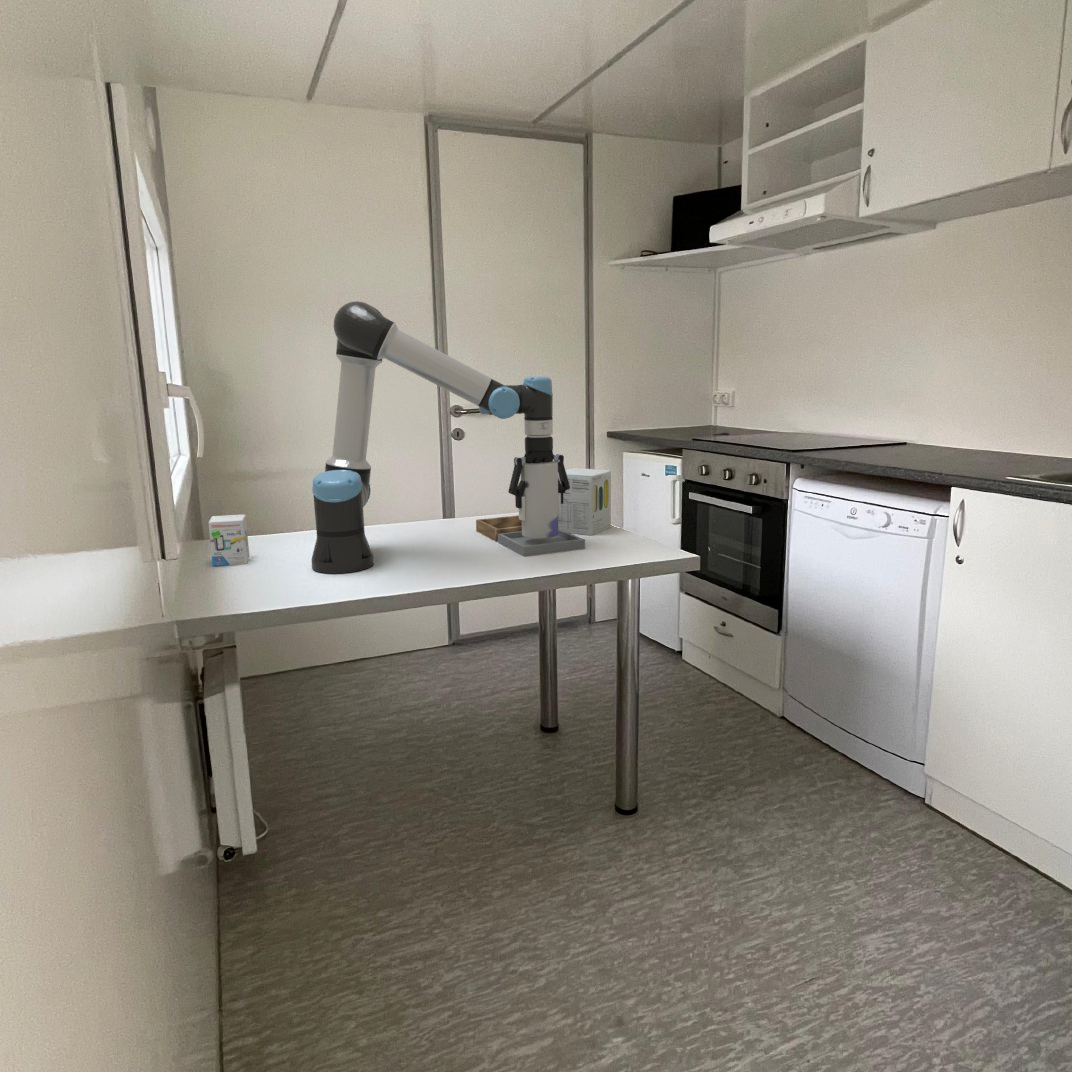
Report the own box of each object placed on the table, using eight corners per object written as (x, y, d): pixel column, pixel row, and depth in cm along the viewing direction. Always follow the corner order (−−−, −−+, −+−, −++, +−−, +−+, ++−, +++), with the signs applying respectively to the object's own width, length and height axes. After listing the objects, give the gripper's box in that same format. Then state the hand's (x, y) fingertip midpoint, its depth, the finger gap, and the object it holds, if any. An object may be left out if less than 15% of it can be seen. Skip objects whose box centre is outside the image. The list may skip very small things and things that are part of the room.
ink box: (212, 566, 197) (206, 521, 194) (216, 558, 205) (211, 515, 202) (247, 564, 199) (243, 519, 197) (250, 556, 207) (245, 513, 205)
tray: (523, 556, 202) (523, 547, 201) (497, 542, 218) (497, 533, 217) (585, 548, 209) (584, 539, 209) (555, 535, 225) (555, 527, 225)
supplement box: (591, 536, 224) (591, 475, 221) (552, 531, 231) (551, 473, 227) (611, 527, 235) (612, 470, 232) (573, 523, 242) (573, 467, 238)
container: (517, 532, 216) (516, 460, 212) (551, 529, 219) (550, 459, 215) (528, 540, 207) (526, 465, 202) (563, 537, 210) (562, 463, 205)
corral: (496, 541, 219) (496, 529, 218) (476, 531, 233) (475, 519, 232) (547, 535, 225) (547, 523, 225) (525, 525, 239) (524, 514, 239)
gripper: (505, 439, 199) (507, 524, 204) (582, 434, 208) (583, 516, 213) (494, 437, 206) (496, 519, 211) (569, 432, 215) (570, 511, 220)
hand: (539, 517), depth 212 cm, fingers closed on container, 10 cm apart
